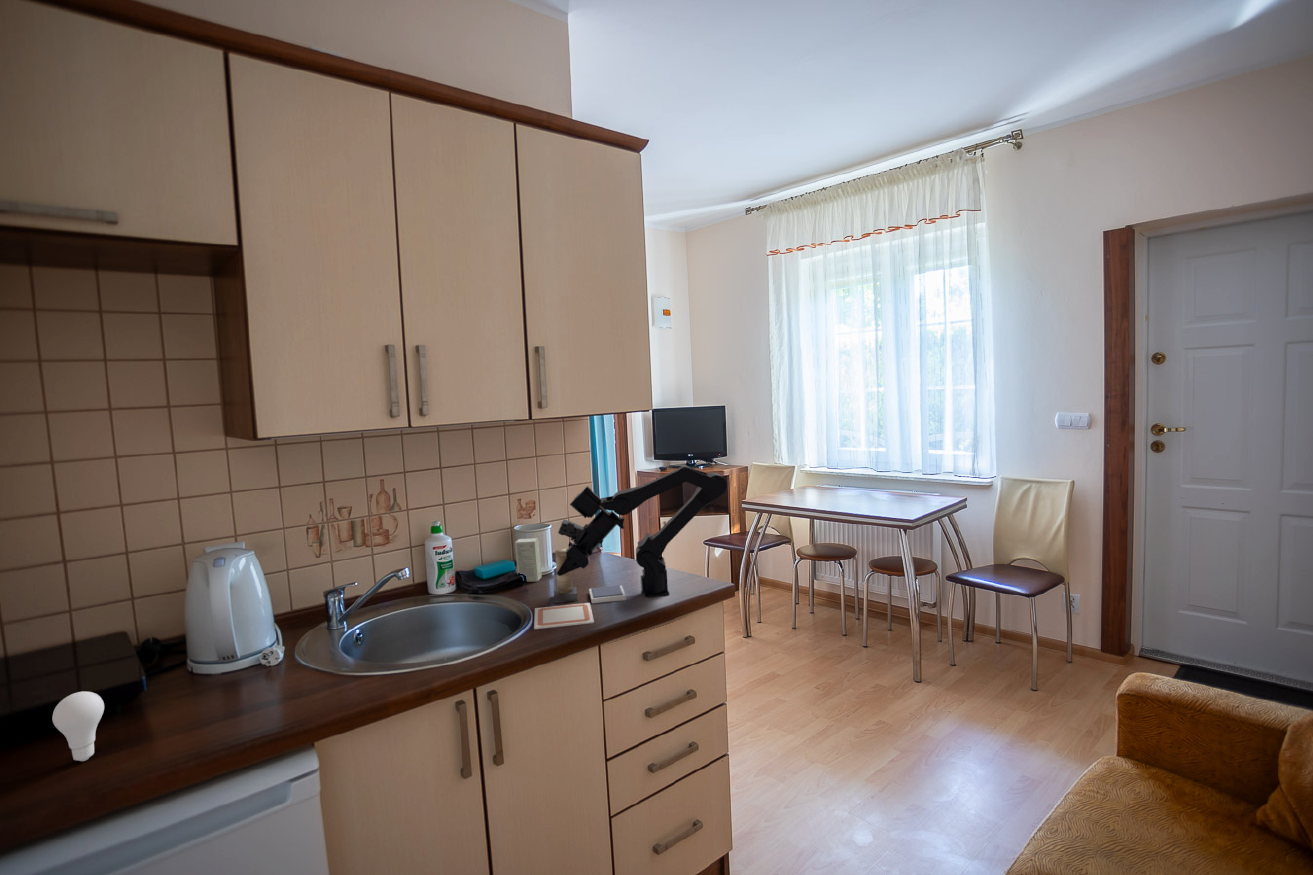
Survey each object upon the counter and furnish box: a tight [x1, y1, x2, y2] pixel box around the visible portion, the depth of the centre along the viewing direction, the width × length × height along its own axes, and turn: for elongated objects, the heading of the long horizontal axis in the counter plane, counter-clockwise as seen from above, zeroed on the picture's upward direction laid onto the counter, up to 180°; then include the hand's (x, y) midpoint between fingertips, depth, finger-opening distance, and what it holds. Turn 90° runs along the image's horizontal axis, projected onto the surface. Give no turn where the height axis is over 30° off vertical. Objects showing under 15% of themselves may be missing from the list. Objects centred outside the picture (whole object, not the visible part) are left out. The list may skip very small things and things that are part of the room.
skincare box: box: [514, 537, 543, 583], centre depth 191 cm, size 6×4×12 cm
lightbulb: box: [52, 691, 105, 762], centre depth 102 cm, size 6×6×11 cm
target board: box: [533, 602, 595, 630], centre depth 159 cm, size 14×14×1 cm
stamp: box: [553, 548, 579, 604], centre depth 172 cm, size 6×6×13 cm
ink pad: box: [588, 585, 627, 604], centre depth 172 cm, size 9×9×2 cm
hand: (558, 572), depth 172 cm, fingers closed on stamp, 4 cm apart
